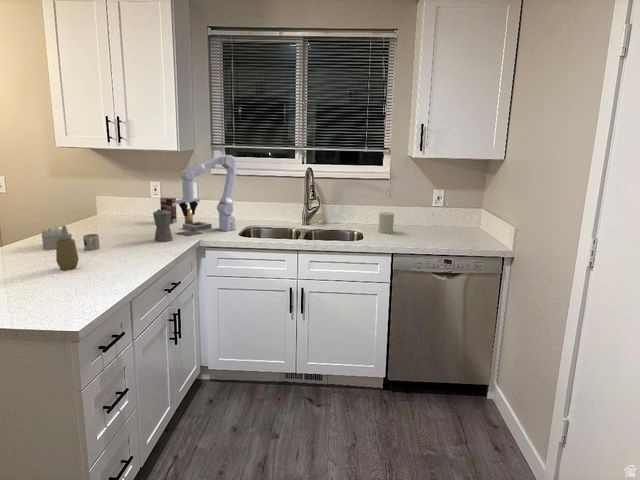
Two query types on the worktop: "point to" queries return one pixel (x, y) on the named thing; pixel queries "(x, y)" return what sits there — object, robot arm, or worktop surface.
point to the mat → (189, 233)
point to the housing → (197, 226)
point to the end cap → (189, 217)
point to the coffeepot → (162, 225)
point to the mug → (91, 242)
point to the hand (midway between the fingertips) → (189, 215)
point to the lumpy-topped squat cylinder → (50, 238)
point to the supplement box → (169, 207)
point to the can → (386, 222)
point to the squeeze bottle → (66, 251)
